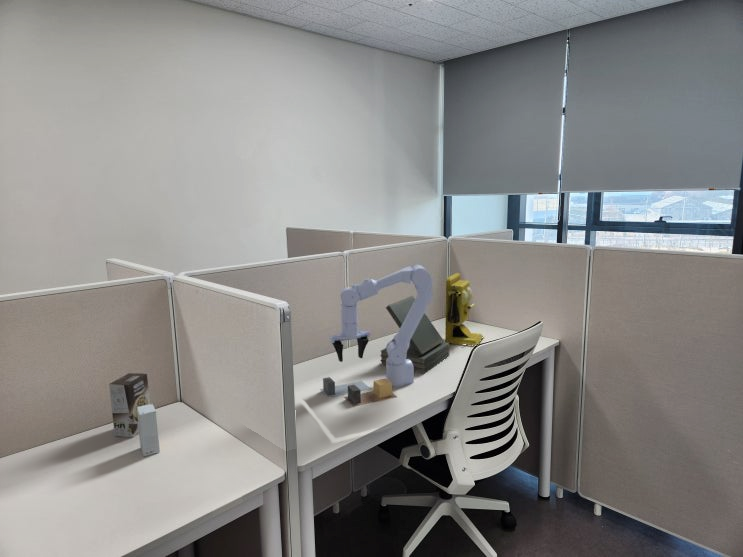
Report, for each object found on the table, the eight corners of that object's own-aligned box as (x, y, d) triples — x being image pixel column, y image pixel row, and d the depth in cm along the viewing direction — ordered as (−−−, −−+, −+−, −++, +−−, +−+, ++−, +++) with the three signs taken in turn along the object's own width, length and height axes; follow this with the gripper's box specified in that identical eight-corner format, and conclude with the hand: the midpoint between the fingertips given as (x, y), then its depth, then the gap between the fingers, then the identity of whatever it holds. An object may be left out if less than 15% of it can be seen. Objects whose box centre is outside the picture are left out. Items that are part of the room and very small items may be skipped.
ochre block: (385, 390, 168) (385, 378, 167) (391, 395, 164) (391, 382, 163) (373, 393, 166) (373, 380, 165) (379, 398, 162) (379, 385, 161)
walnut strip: (386, 390, 170) (386, 376, 169) (397, 399, 163) (397, 384, 162) (344, 399, 164) (343, 384, 163) (353, 409, 157) (353, 393, 156)
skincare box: (160, 452, 133) (156, 411, 130) (143, 457, 130) (138, 415, 128) (156, 442, 138) (152, 403, 136) (140, 447, 135) (135, 406, 133)
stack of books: (423, 375, 186) (424, 311, 181) (380, 365, 196) (379, 304, 192) (449, 357, 204) (450, 299, 200) (408, 349, 215) (408, 294, 211)
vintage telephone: (471, 353, 208) (473, 284, 202) (439, 349, 213) (440, 282, 208) (487, 333, 235) (489, 272, 230) (459, 330, 241) (460, 270, 236)
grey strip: (361, 383, 177) (361, 369, 176) (371, 391, 170) (370, 376, 169) (319, 391, 170) (319, 377, 169) (327, 400, 163) (327, 385, 162)
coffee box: (133, 438, 141) (127, 385, 138) (113, 436, 142) (107, 383, 139) (153, 423, 149) (148, 373, 147) (134, 421, 151) (128, 372, 148)
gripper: (363, 316, 177) (364, 352, 179) (326, 321, 171) (327, 359, 173) (372, 321, 170) (372, 358, 173) (333, 326, 164) (334, 365, 167)
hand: (350, 359), depth 173 cm, fingers open, 7 cm apart
